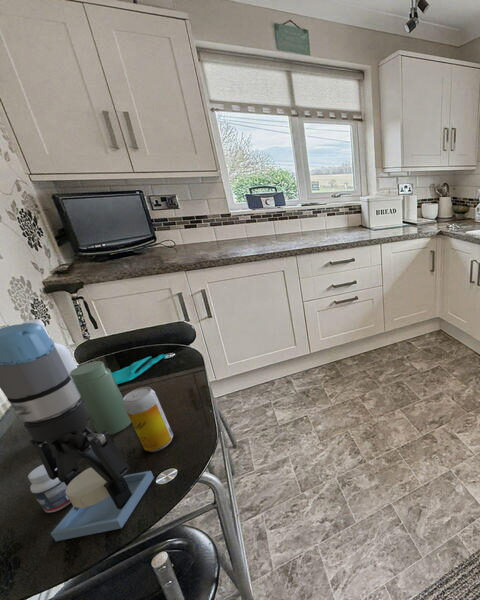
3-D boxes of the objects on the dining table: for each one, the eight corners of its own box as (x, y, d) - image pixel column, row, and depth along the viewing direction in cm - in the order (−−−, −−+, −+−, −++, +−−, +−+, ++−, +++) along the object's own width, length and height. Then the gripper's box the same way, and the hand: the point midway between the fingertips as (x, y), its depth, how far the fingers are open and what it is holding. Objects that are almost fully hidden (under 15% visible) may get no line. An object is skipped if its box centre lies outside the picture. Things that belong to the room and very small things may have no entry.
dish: (55, 541, 60) (50, 533, 59) (98, 487, 70) (94, 480, 69) (121, 528, 61) (117, 520, 60) (154, 477, 71) (150, 470, 71)
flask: (90, 438, 85) (57, 378, 78) (110, 418, 92) (81, 362, 85) (122, 433, 86) (92, 373, 79) (139, 414, 93) (113, 357, 86)
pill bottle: (41, 505, 67) (20, 473, 64) (75, 485, 71) (56, 455, 68) (48, 518, 64) (25, 485, 61) (82, 497, 68) (63, 465, 65)
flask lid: (68, 494, 63) (61, 483, 62) (117, 465, 69) (112, 455, 68) (77, 516, 59) (70, 504, 57) (130, 483, 64) (124, 471, 63)
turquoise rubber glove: (75, 401, 101) (71, 395, 101) (76, 383, 111) (73, 378, 110) (172, 366, 117) (170, 360, 116) (166, 353, 127) (164, 348, 126)
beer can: (144, 443, 81) (120, 394, 76) (172, 430, 85) (152, 382, 80) (145, 457, 77) (121, 406, 72) (175, 443, 80) (154, 393, 75)
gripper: (-24, 424, 55) (41, 518, 63) (83, 425, 52) (136, 523, 60) (28, 396, 62) (81, 483, 70) (124, 395, 59) (167, 486, 67)
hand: (106, 501), depth 65 cm, fingers closed on flask lid, 8 cm apart
